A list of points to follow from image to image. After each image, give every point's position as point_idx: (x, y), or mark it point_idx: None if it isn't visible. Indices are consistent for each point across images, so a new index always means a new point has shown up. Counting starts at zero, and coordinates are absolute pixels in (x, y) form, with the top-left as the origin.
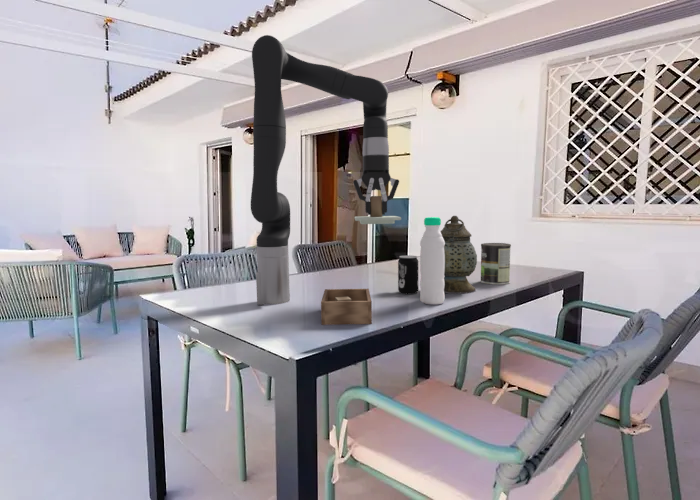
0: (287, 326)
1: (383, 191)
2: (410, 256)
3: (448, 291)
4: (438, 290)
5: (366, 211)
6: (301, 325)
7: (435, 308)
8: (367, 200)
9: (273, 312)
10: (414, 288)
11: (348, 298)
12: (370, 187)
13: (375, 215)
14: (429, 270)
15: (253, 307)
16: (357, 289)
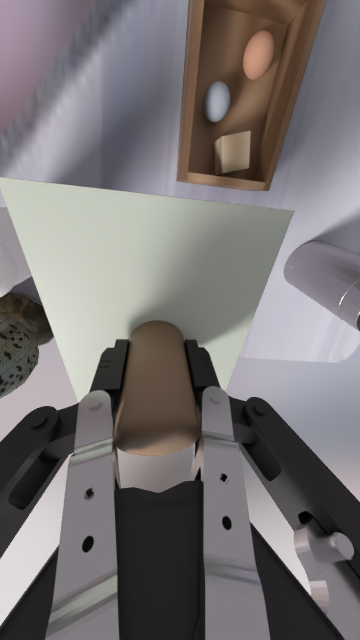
0: (350, 52)
1: (91, 464)
2: None
3: (28, 298)
4: None
5: (204, 352)
6: (323, 55)
7: (44, 170)
8: (216, 390)
9: (329, 195)
10: None
11: (225, 146)
12: (223, 504)
13: (163, 325)
14: None
15: (342, 238)
16: (205, 175)
